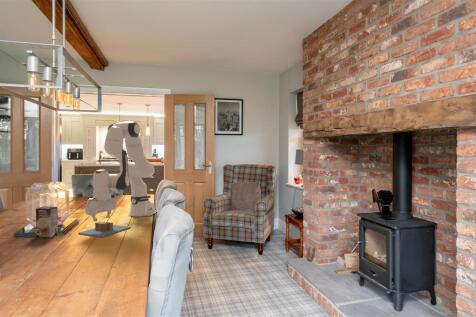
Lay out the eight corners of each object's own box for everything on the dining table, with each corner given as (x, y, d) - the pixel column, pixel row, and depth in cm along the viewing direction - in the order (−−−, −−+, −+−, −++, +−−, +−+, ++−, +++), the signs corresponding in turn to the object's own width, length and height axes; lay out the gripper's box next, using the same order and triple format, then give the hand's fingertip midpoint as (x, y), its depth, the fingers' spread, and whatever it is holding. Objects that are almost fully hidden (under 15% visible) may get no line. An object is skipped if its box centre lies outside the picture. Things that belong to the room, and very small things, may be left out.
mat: (108, 225, 195) (108, 224, 195) (130, 228, 188) (130, 226, 188) (78, 234, 175) (78, 232, 175) (101, 237, 168) (101, 236, 168)
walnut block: (100, 221, 186) (112, 222, 182) (100, 227, 186) (113, 229, 182) (95, 222, 182) (107, 224, 178) (95, 229, 182) (107, 231, 178)
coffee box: (35, 237, 170) (34, 208, 169) (43, 233, 176) (43, 206, 176) (50, 237, 169) (50, 208, 168) (58, 234, 175) (58, 206, 175)
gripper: (90, 199, 171) (90, 224, 172) (118, 194, 190) (118, 216, 191) (82, 198, 174) (82, 222, 174) (110, 194, 193) (110, 215, 193)
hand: (101, 219), depth 183 cm, fingers open, 8 cm apart
